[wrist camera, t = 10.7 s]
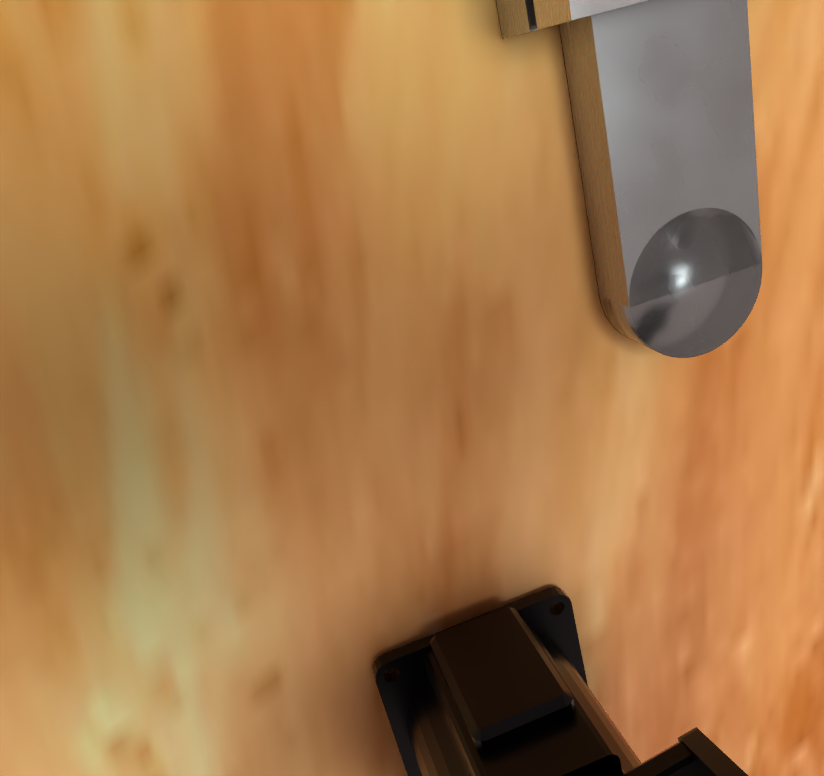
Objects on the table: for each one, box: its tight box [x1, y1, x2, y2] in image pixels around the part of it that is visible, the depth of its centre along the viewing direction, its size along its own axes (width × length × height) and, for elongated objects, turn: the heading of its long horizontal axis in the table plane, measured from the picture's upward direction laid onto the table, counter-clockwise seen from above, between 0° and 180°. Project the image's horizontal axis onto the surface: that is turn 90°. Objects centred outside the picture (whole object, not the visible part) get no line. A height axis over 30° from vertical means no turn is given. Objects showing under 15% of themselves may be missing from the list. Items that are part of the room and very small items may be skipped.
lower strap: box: [496, 0, 762, 358], centre depth 18 cm, size 16×7×2 cm, turn 14°
